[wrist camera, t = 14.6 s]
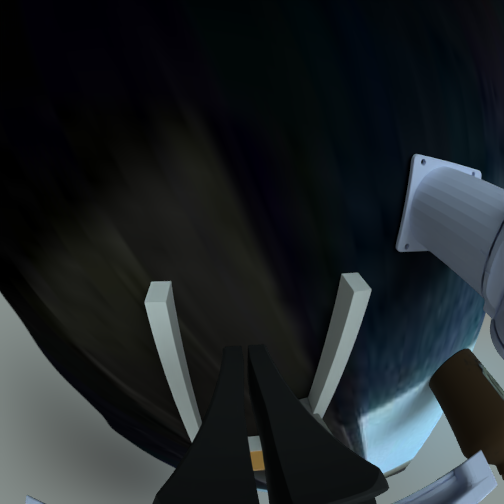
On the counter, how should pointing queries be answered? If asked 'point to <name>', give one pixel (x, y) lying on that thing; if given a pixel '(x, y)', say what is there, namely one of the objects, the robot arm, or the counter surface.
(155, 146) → the counter surface
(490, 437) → the olive oil
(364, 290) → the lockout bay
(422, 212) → the robot arm
